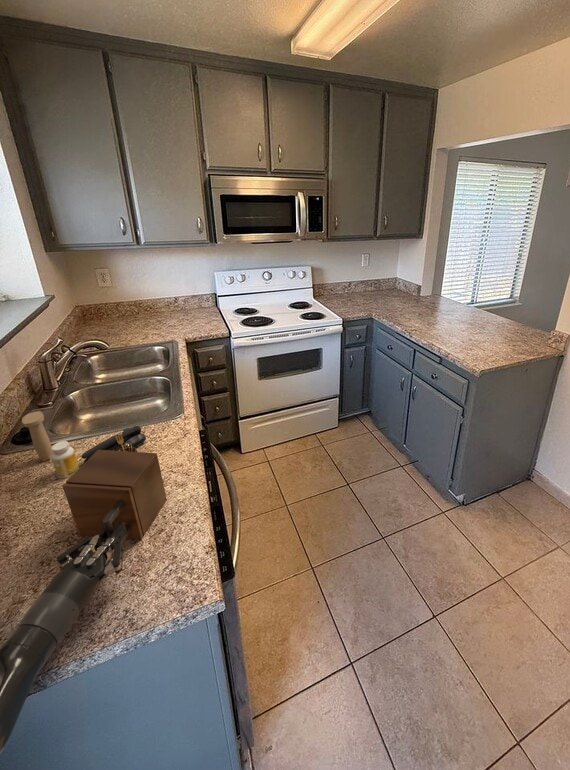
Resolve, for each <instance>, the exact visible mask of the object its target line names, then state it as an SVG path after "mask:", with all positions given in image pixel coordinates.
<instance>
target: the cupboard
mask: <svg viewBox="0 0 570 770" xmlns="http://www.w3.org/2000/svg"><path fill="white" fill-rule="evenodd" d="M159 461H160V460H159V458H158V453H157V452H144V451H143V452H142V451H137V452H128V451H120V450H113V451H111V450H97V451H96V452H95V453H94V454H93V455H92V456H91V457H90V458H89V459H88V460H87V461H86V462H85V463H84V462H83V464H82V465H81V466H79V469H78V470H77V471H76V472H75V473H74V474H73V475H72V476H70V477H68V479H67V480H66V481H65V483H66V484H81V485H96V486H111V487H125V488H131V491H132V495H133V499H134V502H135V506H136V510H137V514H138V518H139V522H140V526H141V529H142V533H143V537H145V536H146V535H147V533H148V531H149V530H148V529H150V528H151V526H152V525H153V523H154V521H155V520H156V518H158V517H157V516H158V515H159V513H160V512H161V510H162V509H163V507H164V505H165V504H166V502H167V499H168V498H167V494H166V489H165V486H164V480H163V475H162V471H161V466H160V462H159ZM146 532H147V533H146ZM144 535H145V536H144Z"/></svg>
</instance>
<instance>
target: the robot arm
mask: <svg viewBox="0 0 570 770" xmlns="http://www.w3.org/2000/svg"><path fill="white" fill-rule="evenodd" d="M112 525H113V529H115V525H114V522H112ZM125 532H126V527H125V523H124V522H120V523H119V524H118V526H117V527H116V529H115V530H114V531H113V533H112V534H111V535H110V538H109V539H108V537H107V534H106V530H105V527H103V528H102V530H101V531H100V532H99V533H98V535H96V536H92V537H90V536H85V537H84V538H82V539H81V540H79V541H78V542H77V543H74V545H73V546H70V547H69V548H68V549H66V550H65V551H64V552H62V553H61V554H59V555H57V556H56V562H57V565H58V567H59V569H60V571H59V572H57V573H56V574H55V576H54V577H53V579H51V581H50V582H49V583H48V584H47V586H46V587H45V588H44V590H43V591H42V592H41V593H40V595H39V596H38V597H37V598H36V600H35V601H34V603H33V604H32V605H31V606H30V607H29V609H28V610H27V612H25V614H24V615H23V617H22V619H21V621H20V622H19V623H18V625H17V627H16V628H15V629H14V630H13V632H12V633H11V634H10V636H9V637H8V638H7V639H6V640H5V642H4V643H3V645H1V647H0V754H2V752H3V751H4V749H5V747H6V745H7V743H8V742H9V740H10V737H11V736H12V733H13V731H14V729H15V727H16V724H17V721H18V720H19V719H18V718H19V717H20V714H21V712H22V709H23V707H24V705H25V702H26V700H27V699H28V696H29V694H30V692H31V689H32V687H33V684H34V682H35V681H36V678H37V676H38V675H39V673H40V671H41V670H42V669H43V667H44V665H45V664H46V663H47V661H48V659H49V658H50V656H51V655H52V653H53V652H54V651H55V649H56V647H57V646H58V645H59V644H60V642H61V641H62V639H64V637H65V636H66V635H67V633H68V632H69V630H70V629H71V627H72V626H73V625H74V623H75V622H76V620H77V618H78V617H79V615H80V614H81V612H82V611H83V609H85V606H86V604H87V603H88V601H89V600H90V599H91V597H92V595H94V592H95V590H96V588H97V585H98V584H99V583H100V582H101V581H102V580H103V579H105V577H106V575H108V574H110V573H113V572H114V573H115V574H120V573H121V572H122V571H123V560H124V544H122V542H121V540H120V539H121V538H122V536H123V535H124V533H125ZM103 543H104V544H103ZM113 551H114V552H113ZM112 554H113V556H112ZM111 557H112V558H111ZM108 562H109V563H108ZM107 564H108V565H107Z"/></svg>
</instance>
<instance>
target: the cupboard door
mask: <svg viewBox="0 0 570 770" xmlns="http://www.w3.org/2000/svg"><path fill="white" fill-rule="evenodd" d="M61 487H62V489H63V492H64V495H65V498H66V501H67V504H68V506H69V509H70V512H71V516H72V518H73V520H74V524H75V526H76V529H77V533H78V535H79V536H85V537H94V536H96V535H98V533H99V532H100V531H101V530H102V528H103V527H105V530H106V534H107V537H108V538H107V540H108V539H109V538H110V535H111V534H112V533H113V531H114V530H115V529H116V527H117V526H118V524H119V523H120V522H124V523H125V527H126V532H125V533H124V535H123V536H122V538H121V539H120V540H121V542H122V545H124V542H125V541H126V539H127V540H136V539H142V538H143V539H144V536H143V533H142V529H141V526H140V522H139V518H138V514H137V510H136V506H135V502H134V499H133V495H132V491H131V488H125V487H111V486H96V485H81V484H66V482H65V483H63V484H62V486H61ZM112 522H114V525H115V529H113V525H112ZM143 539H142V540H143ZM113 553H114V551H113Z"/></svg>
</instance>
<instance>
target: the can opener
mask: <svg viewBox="0 0 570 770" xmlns="http://www.w3.org/2000/svg"><path fill="white" fill-rule="evenodd" d="M120 432H121V435H122V438H123V440H124V442H123V443H122V445H123V447H124V448H125V447H128V446H129V447H131V446H132V447H135V448H136V449H137V447H139V446H141V445H142V444H143V443H145V442H146V440H147V437H146V434H144V433H142V428H141V426H140V425H134V426H132V427H130V428H129V427H124V428H123V430H122V431H120ZM120 432H118V434H119V436H120ZM116 435H117V434H116ZM117 438H118V435H117ZM120 439H121V436H120ZM118 441H119V438H118ZM128 443H129V444H130V445H129V444H128ZM126 444H127V445H126ZM121 447H122V446H121V444H118V442H117V439H116V436H115V435H113V436H111V437H109V438H107V439H105V440H103V441H101V442H100V443H98V444H96V445H94V446H93V447H90V449H87V450H86V451H85V452H83V453H82V454H81V457H80V458H81V459H83V464H84V463H85V462H86V461H87V460H88V459H89V458H90V457H91V456H92V455H93V454H94V453H95V452H96V451H97V450H111V451H116V449H118V448H121Z"/></svg>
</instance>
